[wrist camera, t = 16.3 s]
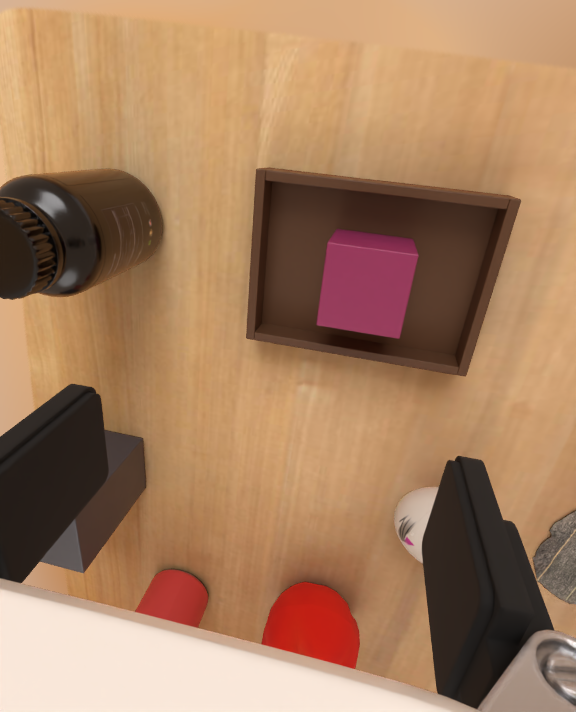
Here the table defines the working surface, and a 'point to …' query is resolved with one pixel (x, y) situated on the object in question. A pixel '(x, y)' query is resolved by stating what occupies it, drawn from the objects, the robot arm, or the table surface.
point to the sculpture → (559, 560)
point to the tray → (386, 217)
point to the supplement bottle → (73, 230)
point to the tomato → (313, 625)
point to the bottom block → (103, 505)
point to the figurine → (414, 518)
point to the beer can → (175, 598)
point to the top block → (367, 282)
